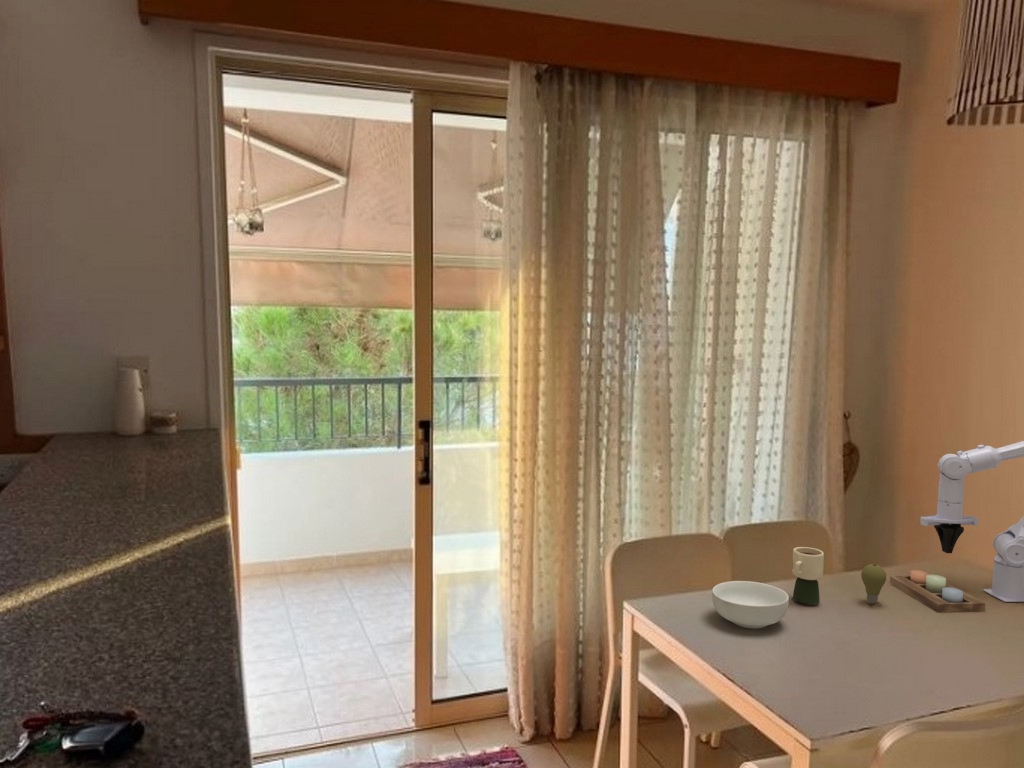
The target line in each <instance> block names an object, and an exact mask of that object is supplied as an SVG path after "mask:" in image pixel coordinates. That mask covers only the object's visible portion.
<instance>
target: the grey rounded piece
mask: <svg viewBox="0 0 1024 768" xmlns="http://www.w3.org/2000/svg"><path fill="white" fill-rule="evenodd" d="M956 588H957V587H956ZM956 588H950V587H945V588H943V589H942V599H943V600H945V601H947V602H948V603H963V592H964V591H963V590H961V589H960V588H958V589H956ZM959 589H960V590H959Z"/></svg>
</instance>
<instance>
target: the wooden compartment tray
mask: <svg viewBox="0 0 1024 768" xmlns="http://www.w3.org/2000/svg"><path fill="white" fill-rule="evenodd" d="M910 576H911V575H890V576H889V584H890V583H891V584H890V585H892V586H893V587H895V586H896V588H897V589H898V588H899V590H900V589H901V590H900V591H902V592H903V591H904V593H905V594H907V595H908V594H909V595H908V596H910V597H912V598H913V599H915V600H917V601H918V602H920V603H921V602H922V603H921V604H922V605H925V606H926V605H927V606H926V607H929V608H930V609H931V610H933V611H935V612H936V613H967V612H968V613H969V612H972V613H973V612H976V613H977V612H985V611H986V603H985V602H984V601H982V600H980V599H979V598H977V597H975V596H973V595H971V594H969V593H967V592H965V591H963V603H948V602H947V601H945V600H943V599H942V593H931V592H929V591H928V590H926V584H915V583H914V582H912V581H910ZM946 587H950V588H956V589H959V590H961V589H960V588H958V587H956V586H954V585H952V584H950V583H948V582H947V581H946Z"/></svg>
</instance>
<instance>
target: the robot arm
mask: <svg viewBox="0 0 1024 768" xmlns="http://www.w3.org/2000/svg"><path fill="white" fill-rule="evenodd" d="M956 453H957V454H955V453H954V454H953V453H946V454H944V455H942V457H940V458H939V460H938V462H937V469H938V471H940V472H939V482H938V493H937V508H936V514H934V515H929V516H920V519H919V521H920V522H919V524H920V525H921V526H924V527H928V526H933V528H934V529H935V531H936V534H937V536H938V539H939V541H940V545H941V552H943V553H945V554H953V551H954V548H955V546H956V543H957V541H958V540H959V538H960V537H961V535H962V534H963V533H964V532H965V531H964V530H965V527H963V525H964V526H965V525H966V526H969V525H971V526H978V525H979V518H978V517H976V516H970V515H968V516H967V515H963V513H964V512H963V509H964V496H965V495H964V494H965V492H964V491H965V477H966V476H967V475H968V474H969V475H970V474H974V473H978V472H983V471H984V472H985V471H987V470H990V469H996V468H997V467H999V465H1000V464H1001V462H1003V461H1007V460H1014V459H1018V458H1023V457H1024V440H1022V441H1018V442H1016V443H1015V442H1014V443H1011V444H1007V445H1004V446H1002V447H997V448H995V447H993V446H990V445H984V444H979V445H977V447H976V448H973V449H969V450H965V451H963V450H959V451H957V452H956ZM992 545H993V548H994V550H995V552H997V553H996V555H995V556H994V557H993V558H994V559H993V568H992V569H993V570H992V581H991V582H992V583H991V585H992V586H991V588H984V589H983V592H984V593H987V594H989V595H991V596H992V597H994V598H996V599H998V600H999V601H1002V602H1004V603H1007V602H1008V603H1015V602H1017V603H1018V602H1019V603H1020V602H1023V603H1024V515H1023V516H1022V517H1021V518H1020V519H1019V520H1018V522H1016V523H1015V524H1012V525H1010V526H1008V528H1007V529H1006V530H1004V531H1003V532H1000V533H998V534H997V535H996V536H995V537H994V539H993V541H992Z"/></svg>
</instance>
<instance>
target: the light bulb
mask: <svg viewBox="0 0 1024 768" xmlns="http://www.w3.org/2000/svg"><path fill="white" fill-rule="evenodd" d="M860 575H861V580H862V582H863V585H864V588H865V592H866V601H867V602H868V603H869V605H872V606H874V605H875V604H876V603H878V602H879V601H878V599H879V598H878V597H879V595H880V593H881V590H882V588H883V587H884V585H885V583H886V581H887V573H886V571H885V569H884V568H883V567H882V566H880V565H878V564H877V563H876V564H875V563H870V564H867V565H865V566H864V567H863V568H862V569H861V573H860Z"/></svg>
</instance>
